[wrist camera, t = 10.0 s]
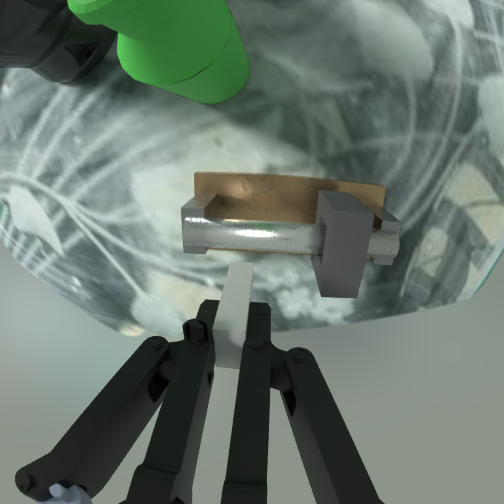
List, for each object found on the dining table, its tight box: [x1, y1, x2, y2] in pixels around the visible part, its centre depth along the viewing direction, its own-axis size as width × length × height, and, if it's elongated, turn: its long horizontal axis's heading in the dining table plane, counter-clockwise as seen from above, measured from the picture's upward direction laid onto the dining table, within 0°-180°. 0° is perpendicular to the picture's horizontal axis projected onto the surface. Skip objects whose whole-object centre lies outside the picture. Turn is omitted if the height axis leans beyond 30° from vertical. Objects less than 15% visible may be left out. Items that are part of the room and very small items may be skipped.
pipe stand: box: [181, 172, 402, 265], centre depth 30 cm, size 24×10×10 cm, turn 88°
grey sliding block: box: [311, 190, 375, 298], centre depth 27 cm, size 4×8×8 cm, turn 178°
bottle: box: [67, 0, 250, 104], centre depth 16 cm, size 9×9×25 cm
